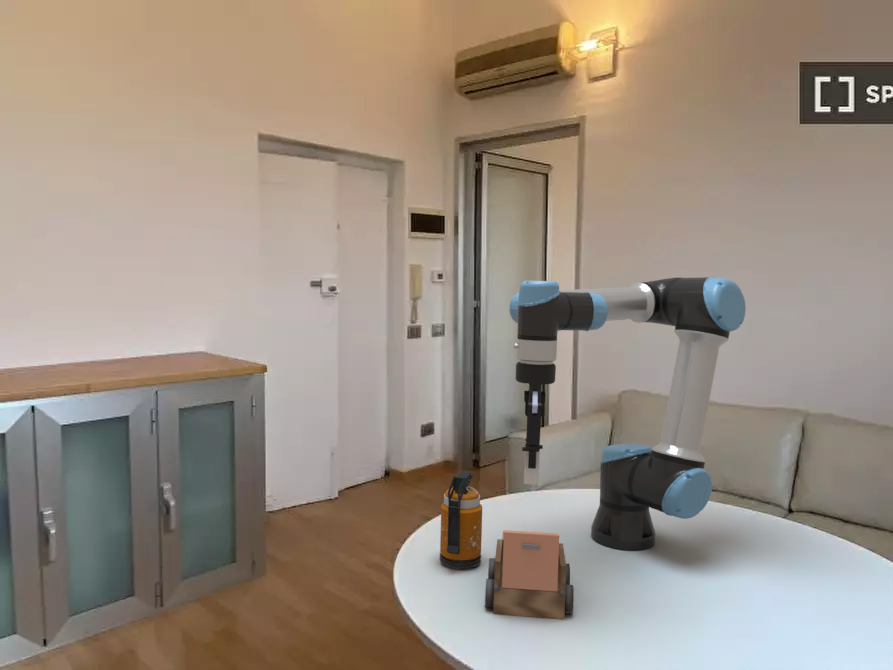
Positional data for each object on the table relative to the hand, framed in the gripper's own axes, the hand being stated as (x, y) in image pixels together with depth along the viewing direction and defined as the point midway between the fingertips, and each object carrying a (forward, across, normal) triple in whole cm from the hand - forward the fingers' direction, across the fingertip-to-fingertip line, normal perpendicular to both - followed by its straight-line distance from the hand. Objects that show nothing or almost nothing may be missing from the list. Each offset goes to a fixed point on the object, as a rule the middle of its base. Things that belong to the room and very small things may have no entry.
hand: (531, 483), depth 130 cm
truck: (+23, 0, 0) cm, 23 cm away
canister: (+23, -14, -15) cm, 31 cm away
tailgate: (+18, +7, 0) cm, 19 cm away
